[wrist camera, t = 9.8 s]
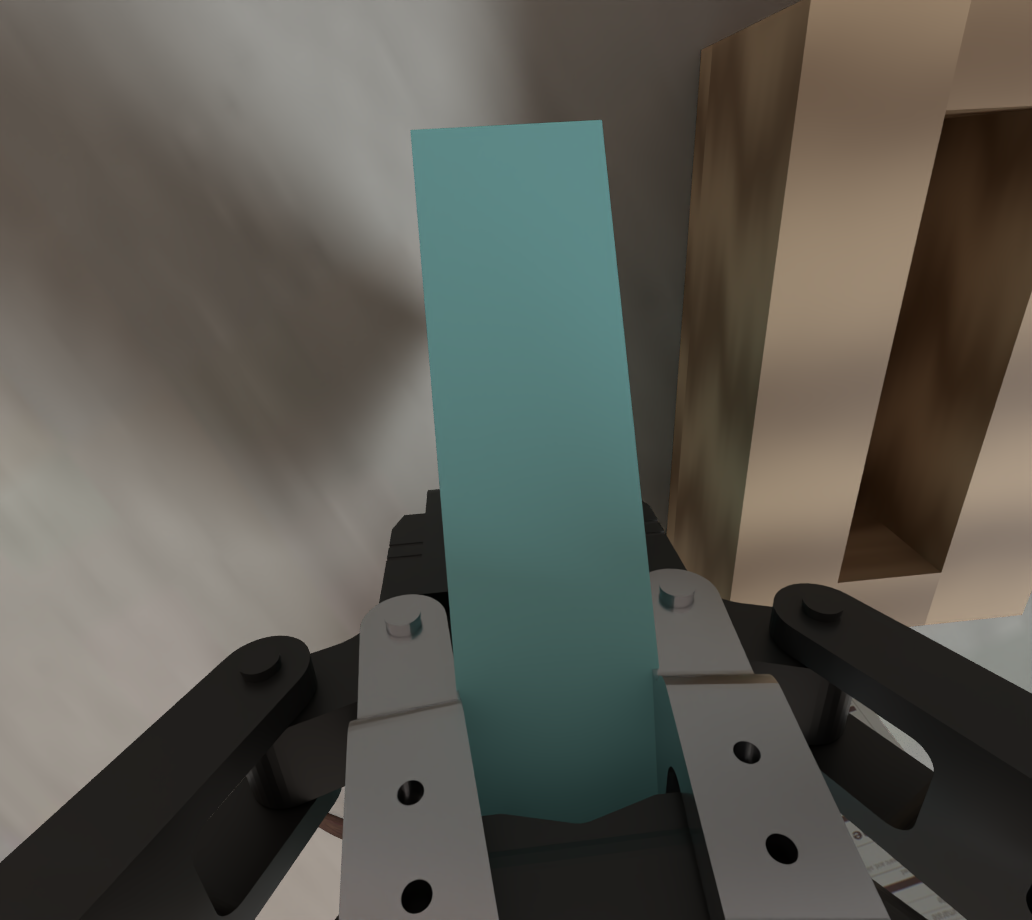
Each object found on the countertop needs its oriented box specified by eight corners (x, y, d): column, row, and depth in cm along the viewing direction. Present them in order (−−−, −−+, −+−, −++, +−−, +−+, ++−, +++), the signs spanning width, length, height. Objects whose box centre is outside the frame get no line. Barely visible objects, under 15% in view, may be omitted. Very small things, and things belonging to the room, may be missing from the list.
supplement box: (637, 672, 33) (792, 1104, 18) (797, 606, 32) (1111, 1004, 16) (689, 773, 37) (853, 1193, 22) (834, 717, 36) (1111, 1118, 21)
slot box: (701, 49, 20) (811, -5, 14) (1035, 35, 21) (1283, -24, 15) (666, 543, 29) (724, 646, 23) (902, 521, 30) (1021, 614, 23)
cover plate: (457, 371, 22) (410, 130, 8) (526, 365, 22) (601, 119, 8) (486, 709, 21) (491, 1125, 7) (557, 701, 21) (703, 1093, 7)
